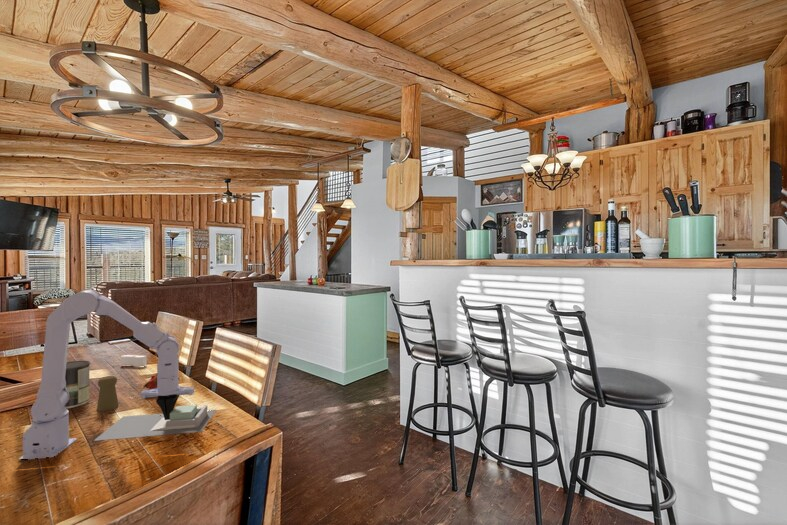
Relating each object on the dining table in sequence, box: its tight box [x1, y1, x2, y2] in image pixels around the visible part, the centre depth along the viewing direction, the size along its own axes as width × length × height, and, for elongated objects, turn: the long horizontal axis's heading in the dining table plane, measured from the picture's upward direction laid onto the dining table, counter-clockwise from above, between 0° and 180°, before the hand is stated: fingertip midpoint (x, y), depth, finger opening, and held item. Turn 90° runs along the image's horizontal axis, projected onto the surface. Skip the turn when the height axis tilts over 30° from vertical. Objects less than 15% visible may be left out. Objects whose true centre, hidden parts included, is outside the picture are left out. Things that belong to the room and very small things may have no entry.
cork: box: [96, 375, 119, 412], centre depth 126 cm, size 6×6×11 cm
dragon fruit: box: [143, 373, 157, 390], centre depth 142 cm, size 8×8×12 cm
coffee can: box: [65, 360, 91, 409], centre depth 130 cm, size 10×10×14 cm
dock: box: [93, 405, 217, 442], centre depth 114 cm, size 16×28×4 cm, turn 101°
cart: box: [170, 404, 198, 421], centre depth 116 cm, size 6×7×3 cm
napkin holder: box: [120, 354, 147, 367], centre depth 174 cm, size 15×11×6 cm
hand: (168, 418), depth 115 cm, fingers closed
